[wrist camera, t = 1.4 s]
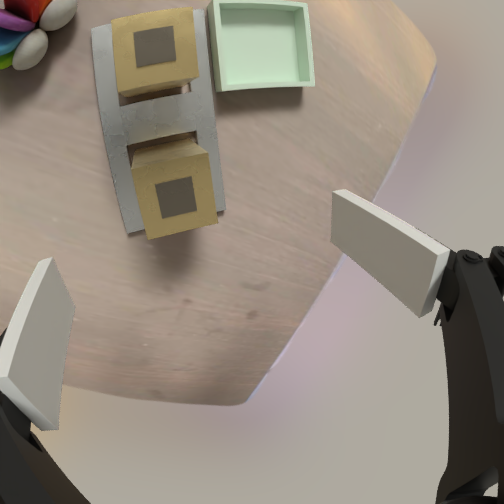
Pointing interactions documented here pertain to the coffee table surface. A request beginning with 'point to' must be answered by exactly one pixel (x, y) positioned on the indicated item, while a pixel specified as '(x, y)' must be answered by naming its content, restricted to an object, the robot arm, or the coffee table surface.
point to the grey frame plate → (153, 119)
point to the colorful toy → (30, 29)
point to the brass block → (174, 187)
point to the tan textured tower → (154, 51)
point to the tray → (260, 44)
